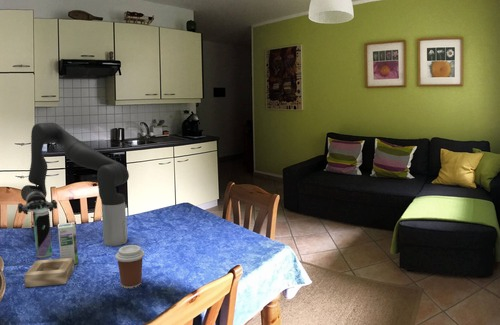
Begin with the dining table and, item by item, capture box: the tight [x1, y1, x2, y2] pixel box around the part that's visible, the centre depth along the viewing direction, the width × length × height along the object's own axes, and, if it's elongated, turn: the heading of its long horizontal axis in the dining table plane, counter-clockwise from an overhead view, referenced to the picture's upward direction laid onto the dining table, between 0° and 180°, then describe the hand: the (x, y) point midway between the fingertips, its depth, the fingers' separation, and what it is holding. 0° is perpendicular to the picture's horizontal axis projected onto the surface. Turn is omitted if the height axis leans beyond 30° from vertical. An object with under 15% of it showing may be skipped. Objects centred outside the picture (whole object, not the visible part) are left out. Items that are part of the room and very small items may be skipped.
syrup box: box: [57, 221, 79, 265], centre depth 143 cm, size 6×6×14 cm
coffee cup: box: [114, 244, 145, 289], centre depth 127 cm, size 9×9×12 cm
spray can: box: [32, 204, 53, 259], centre depth 149 cm, size 6×6×20 cm
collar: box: [23, 258, 75, 288], centre depth 132 cm, size 12×12×4 cm
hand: (38, 210), depth 158 cm, fingers open, 8 cm apart
